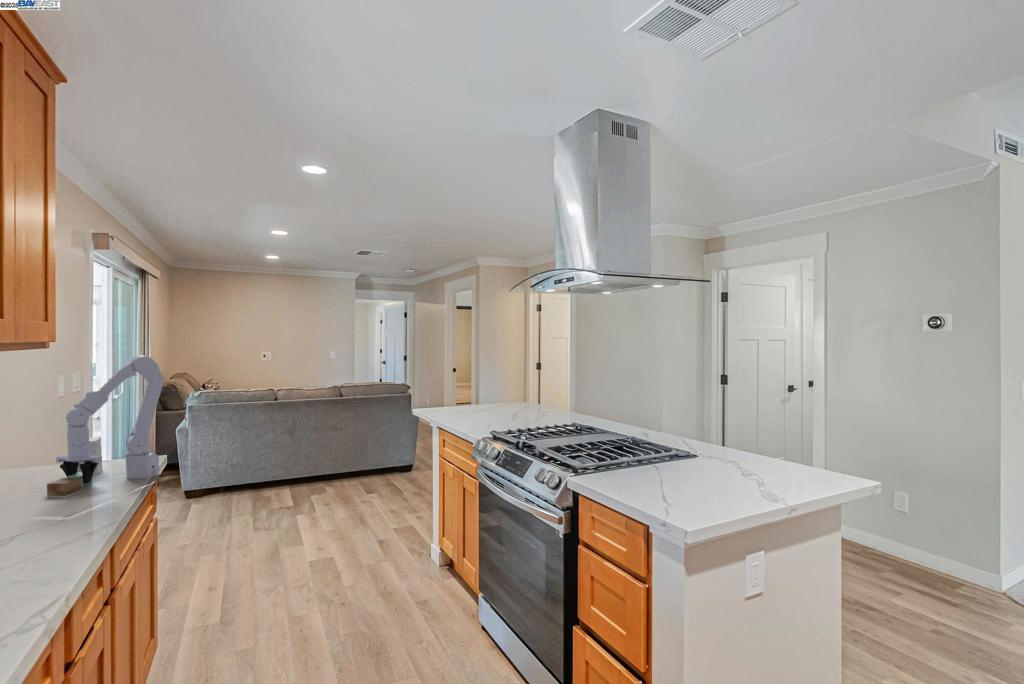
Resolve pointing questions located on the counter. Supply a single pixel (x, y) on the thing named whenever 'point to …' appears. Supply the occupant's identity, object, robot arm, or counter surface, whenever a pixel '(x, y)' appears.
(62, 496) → the mat
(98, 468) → the small box
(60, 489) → the walnut block
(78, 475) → the teal block
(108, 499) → the counter surface
